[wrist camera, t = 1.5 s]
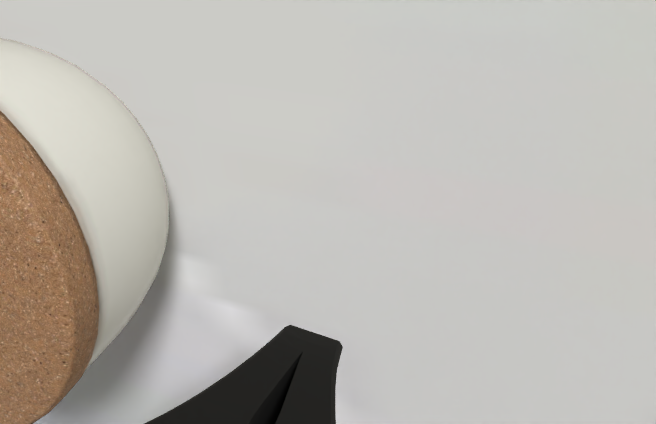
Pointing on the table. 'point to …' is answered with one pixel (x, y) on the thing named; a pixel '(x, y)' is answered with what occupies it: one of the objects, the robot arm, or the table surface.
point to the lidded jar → (68, 225)
